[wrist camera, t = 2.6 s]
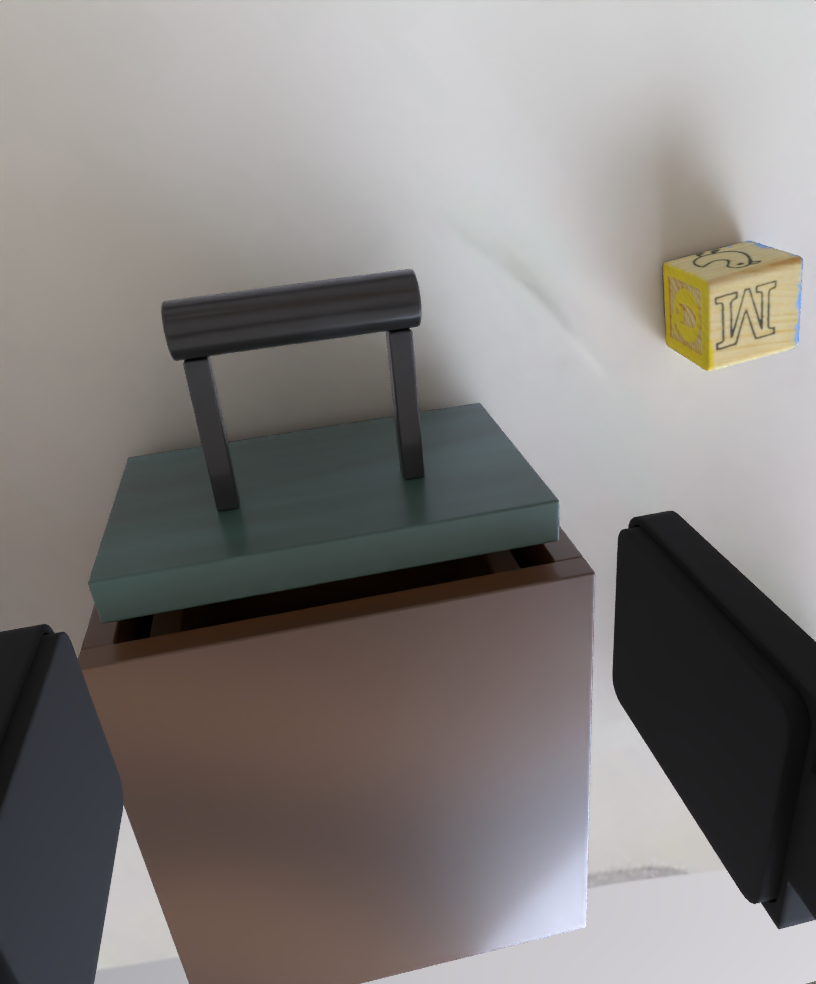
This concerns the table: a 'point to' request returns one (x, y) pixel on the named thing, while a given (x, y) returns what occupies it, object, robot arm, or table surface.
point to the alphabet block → (733, 304)
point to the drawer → (312, 479)
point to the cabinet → (361, 773)
